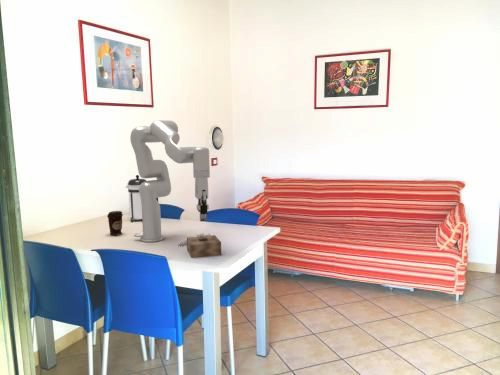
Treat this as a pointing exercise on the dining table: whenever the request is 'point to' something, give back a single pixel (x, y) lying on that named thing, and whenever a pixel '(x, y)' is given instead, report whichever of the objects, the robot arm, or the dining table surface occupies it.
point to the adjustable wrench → (197, 236)
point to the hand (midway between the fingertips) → (202, 212)
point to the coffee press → (135, 198)
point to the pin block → (203, 246)
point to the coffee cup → (115, 222)
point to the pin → (202, 216)
